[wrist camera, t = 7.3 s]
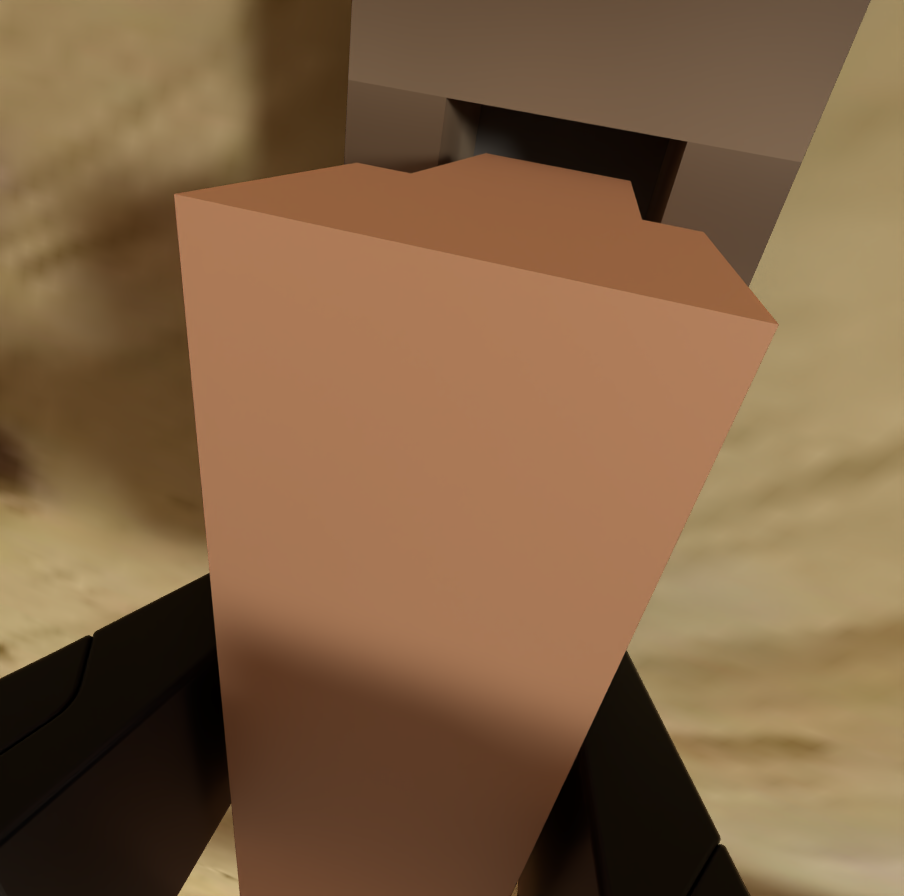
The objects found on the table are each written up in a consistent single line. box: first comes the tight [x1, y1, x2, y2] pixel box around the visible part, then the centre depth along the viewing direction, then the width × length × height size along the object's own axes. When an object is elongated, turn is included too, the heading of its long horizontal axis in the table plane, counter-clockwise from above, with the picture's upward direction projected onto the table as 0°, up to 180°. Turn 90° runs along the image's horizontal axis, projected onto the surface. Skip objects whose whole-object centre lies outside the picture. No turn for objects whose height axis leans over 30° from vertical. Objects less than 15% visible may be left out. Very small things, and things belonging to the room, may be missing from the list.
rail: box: [344, 0, 871, 287], centre depth 12 cm, size 18×6×3 cm, turn 171°
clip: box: [174, 153, 779, 896], centre depth 8 cm, size 10×3×6 cm, turn 171°
